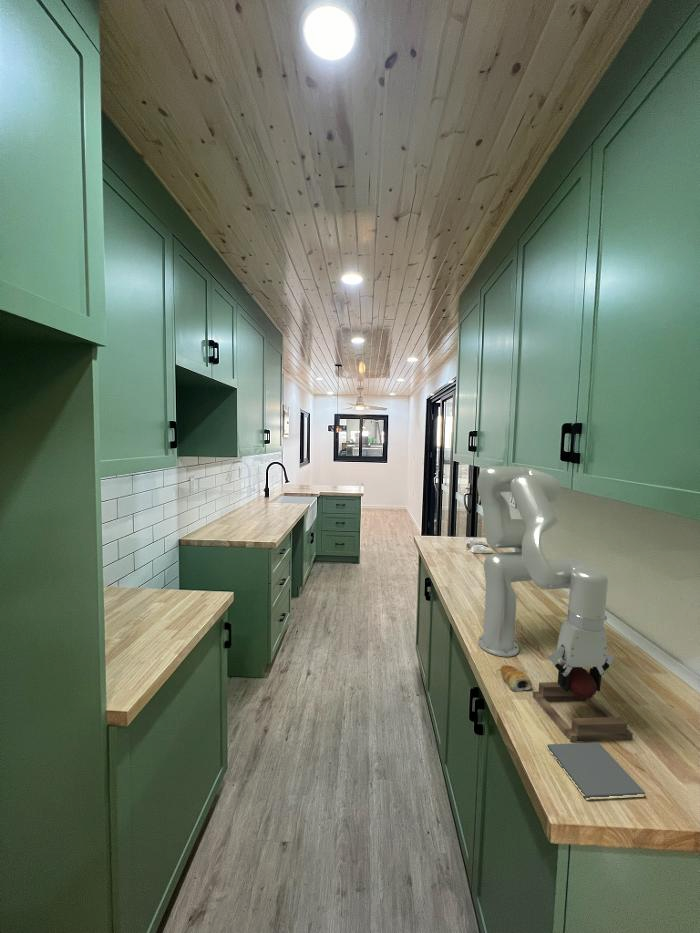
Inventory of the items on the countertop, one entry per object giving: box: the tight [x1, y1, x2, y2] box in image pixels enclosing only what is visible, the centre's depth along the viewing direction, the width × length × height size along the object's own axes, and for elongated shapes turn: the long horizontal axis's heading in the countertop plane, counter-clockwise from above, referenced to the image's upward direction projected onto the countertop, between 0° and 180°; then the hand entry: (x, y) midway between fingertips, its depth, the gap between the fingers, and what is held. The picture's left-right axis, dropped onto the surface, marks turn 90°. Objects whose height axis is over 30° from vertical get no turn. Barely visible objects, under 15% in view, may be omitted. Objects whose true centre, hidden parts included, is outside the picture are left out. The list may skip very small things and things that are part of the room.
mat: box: [547, 741, 646, 798], centre depth 77 cm, size 12×12×1 cm
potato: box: [568, 667, 598, 699], centre depth 93 cm, size 8×9×6 cm
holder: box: [532, 681, 634, 743], centre depth 93 cm, size 15×15×4 cm
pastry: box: [500, 664, 533, 692], centre depth 106 cm, size 9×7×4 cm
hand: (578, 687), depth 93 cm, fingers closed on potato, 7 cm apart
